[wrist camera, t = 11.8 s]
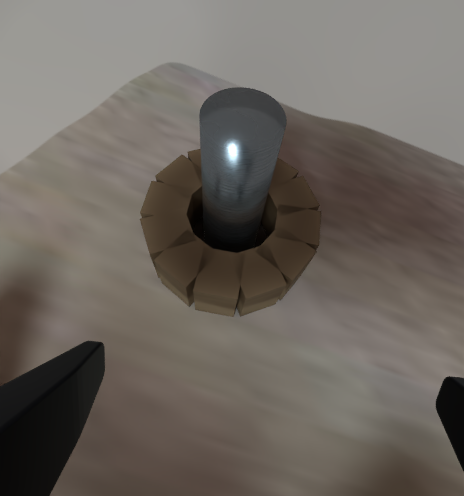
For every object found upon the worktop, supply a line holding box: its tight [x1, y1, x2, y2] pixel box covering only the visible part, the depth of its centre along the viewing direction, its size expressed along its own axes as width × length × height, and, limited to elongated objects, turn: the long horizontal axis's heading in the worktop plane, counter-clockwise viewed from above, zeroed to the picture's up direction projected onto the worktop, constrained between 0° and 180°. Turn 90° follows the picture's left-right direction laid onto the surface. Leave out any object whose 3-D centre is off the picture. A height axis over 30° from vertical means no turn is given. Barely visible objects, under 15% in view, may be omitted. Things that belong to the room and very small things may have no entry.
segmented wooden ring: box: [140, 149, 321, 317], centre depth 24 cm, size 12×12×4 cm
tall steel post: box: [200, 88, 286, 253], centre depth 20 cm, size 4×4×12 cm
